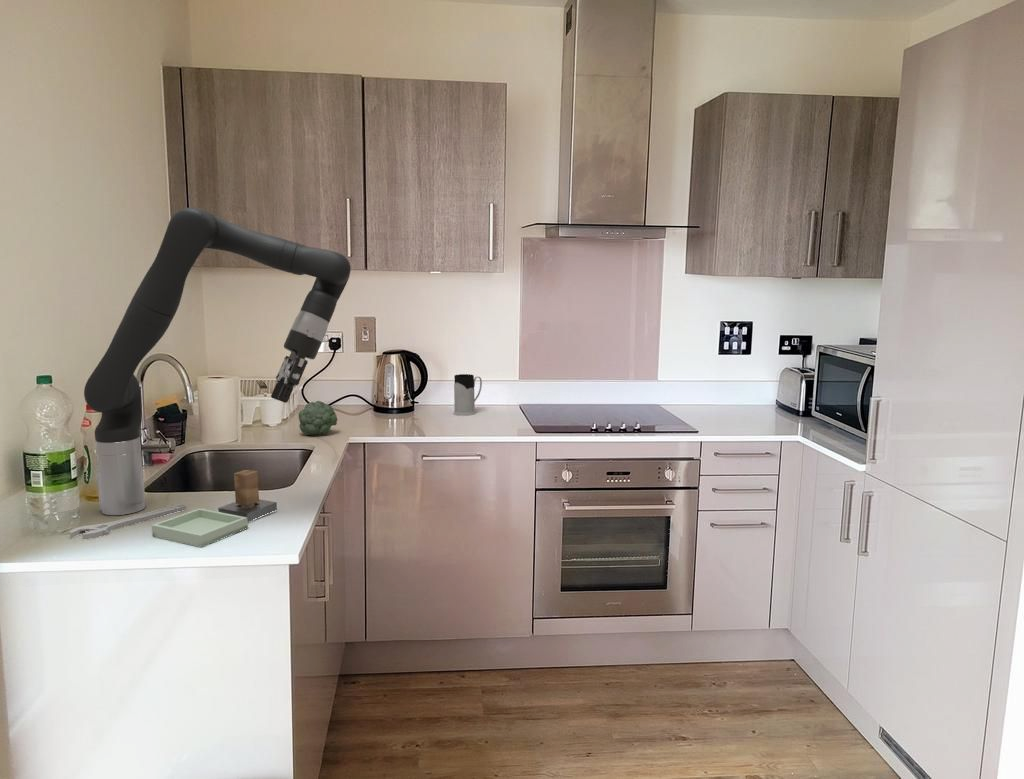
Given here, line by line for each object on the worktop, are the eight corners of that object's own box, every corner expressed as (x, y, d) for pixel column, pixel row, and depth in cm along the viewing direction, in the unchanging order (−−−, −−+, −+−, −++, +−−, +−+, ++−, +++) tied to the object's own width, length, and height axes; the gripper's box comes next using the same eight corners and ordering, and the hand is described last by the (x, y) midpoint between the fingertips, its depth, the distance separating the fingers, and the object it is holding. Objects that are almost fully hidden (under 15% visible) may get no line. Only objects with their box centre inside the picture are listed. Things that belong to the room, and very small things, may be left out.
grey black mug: (448, 413, 294) (448, 375, 292) (473, 408, 305) (473, 371, 302) (465, 416, 289) (464, 377, 286) (489, 411, 299) (489, 373, 297)
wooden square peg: (236, 515, 174) (233, 473, 172) (248, 511, 177) (245, 469, 175) (248, 517, 172) (245, 475, 171) (259, 513, 175) (257, 471, 174)
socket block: (218, 517, 173) (218, 507, 172) (248, 506, 180) (248, 497, 180) (247, 522, 169) (247, 513, 168) (277, 511, 176) (276, 502, 176)
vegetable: (348, 423, 266) (338, 411, 252) (322, 450, 264) (311, 440, 249) (323, 401, 269) (312, 389, 255) (298, 428, 266) (285, 417, 252)
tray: (152, 536, 160) (151, 525, 160) (200, 518, 171) (199, 508, 171) (201, 547, 154) (200, 535, 153) (248, 528, 165) (247, 517, 164)
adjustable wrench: (182, 509, 180) (182, 502, 180) (195, 515, 176) (195, 508, 175) (67, 536, 161) (67, 528, 161) (79, 544, 157) (78, 535, 157)
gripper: (285, 328, 177) (257, 392, 175) (297, 327, 165) (267, 395, 163) (314, 341, 181) (287, 404, 179) (329, 341, 168) (300, 408, 166)
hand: (278, 400), depth 171 cm, fingers open, 8 cm apart
